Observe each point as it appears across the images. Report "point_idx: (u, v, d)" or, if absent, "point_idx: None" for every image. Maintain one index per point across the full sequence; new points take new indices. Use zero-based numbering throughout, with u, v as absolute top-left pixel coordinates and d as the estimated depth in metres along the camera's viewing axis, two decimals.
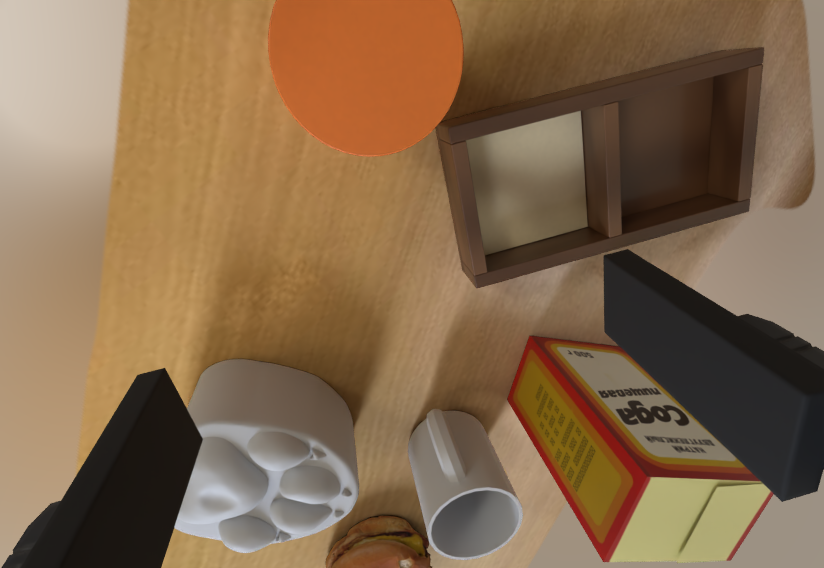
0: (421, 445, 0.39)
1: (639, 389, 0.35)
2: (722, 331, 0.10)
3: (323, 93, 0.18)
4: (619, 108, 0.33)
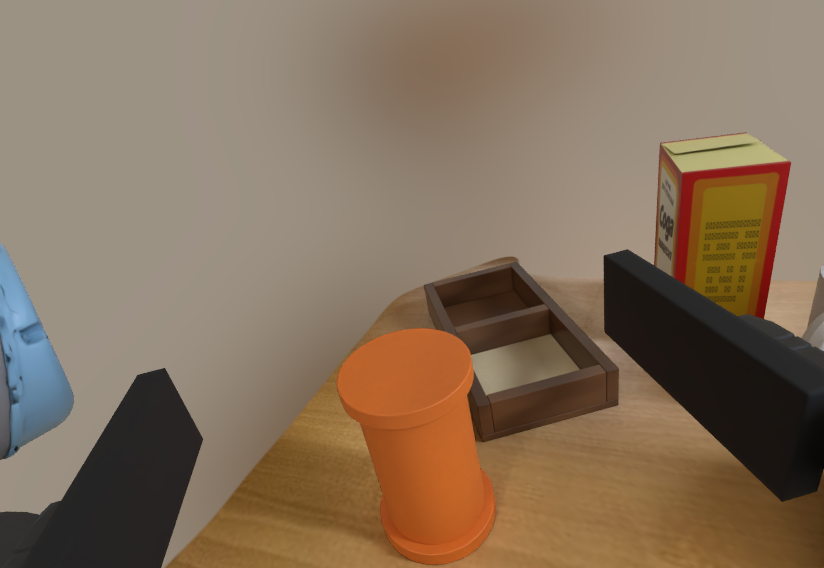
0: None
1: (662, 248, 0.43)
2: (722, 331, 0.10)
3: (426, 385, 0.24)
4: None
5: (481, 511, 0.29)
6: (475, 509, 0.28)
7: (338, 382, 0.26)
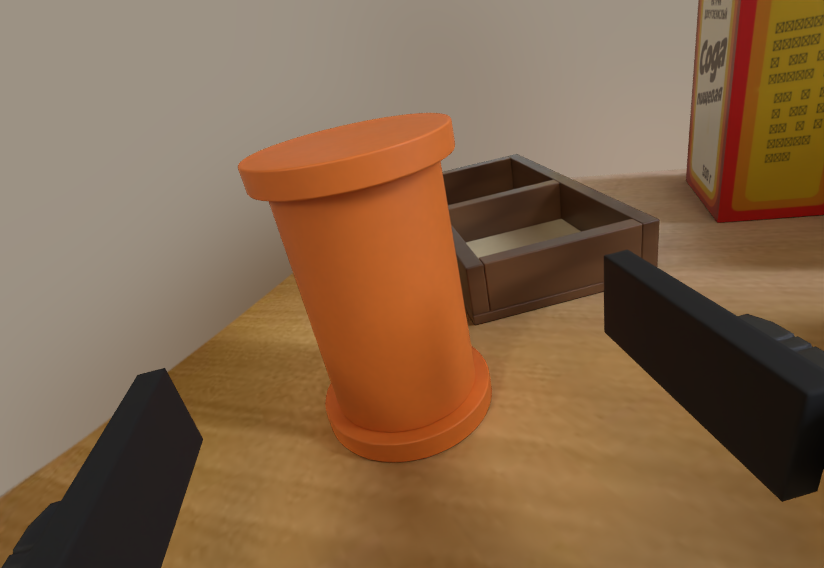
0: None
1: (703, 101, 0.34)
2: (722, 331, 0.10)
3: (375, 140, 0.15)
4: None
5: (470, 389, 0.20)
6: (460, 381, 0.19)
7: (242, 161, 0.16)
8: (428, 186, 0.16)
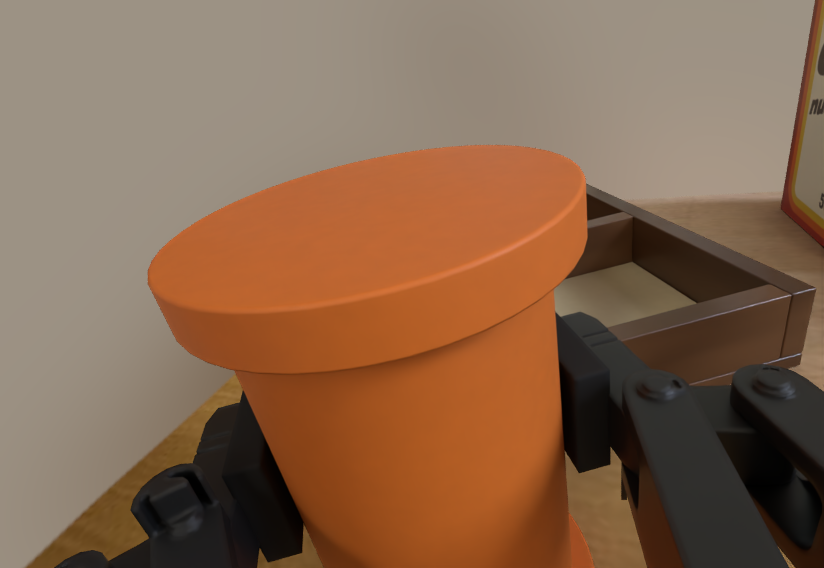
0: None
1: None
2: None
3: (437, 224, 0.07)
4: None
5: None
6: None
7: (165, 247, 0.08)
8: (540, 308, 0.08)
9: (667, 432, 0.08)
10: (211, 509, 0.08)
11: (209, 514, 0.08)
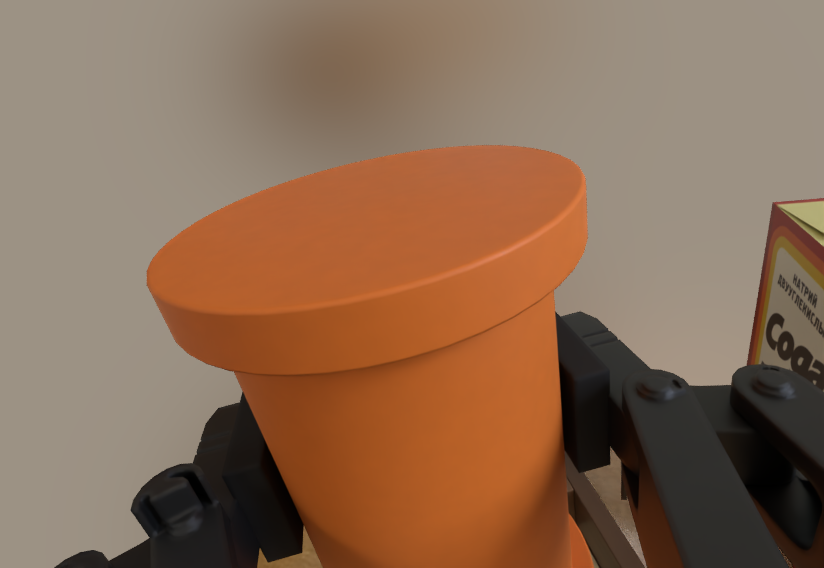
0: None
1: None
2: None
3: (437, 224, 0.07)
4: None
5: None
6: None
7: (164, 247, 0.08)
8: (540, 309, 0.08)
9: (667, 432, 0.08)
10: (211, 509, 0.08)
11: (209, 514, 0.08)
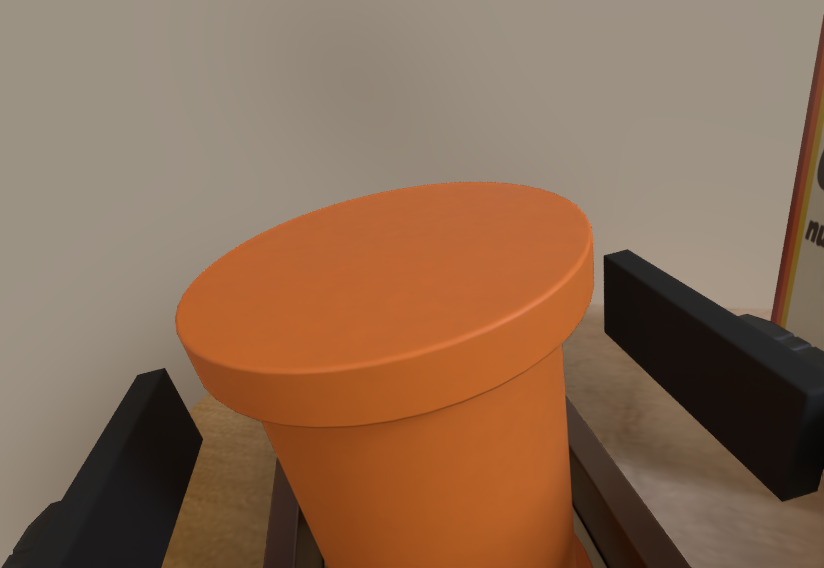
0: None
1: None
2: (722, 331, 0.10)
3: (452, 277, 0.07)
4: None
5: None
6: None
7: (189, 290, 0.09)
8: None
9: None
10: None
11: None
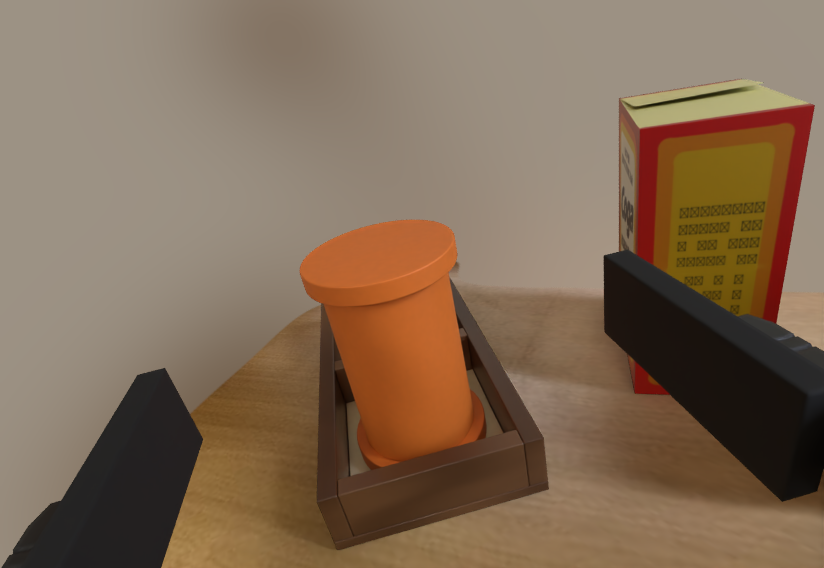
0: None
1: (624, 248, 0.30)
2: (722, 331, 0.10)
3: (400, 260, 0.21)
4: None
5: (469, 428, 0.26)
6: (462, 423, 0.25)
7: (301, 266, 0.22)
8: (438, 288, 0.22)
9: None
10: None
11: None
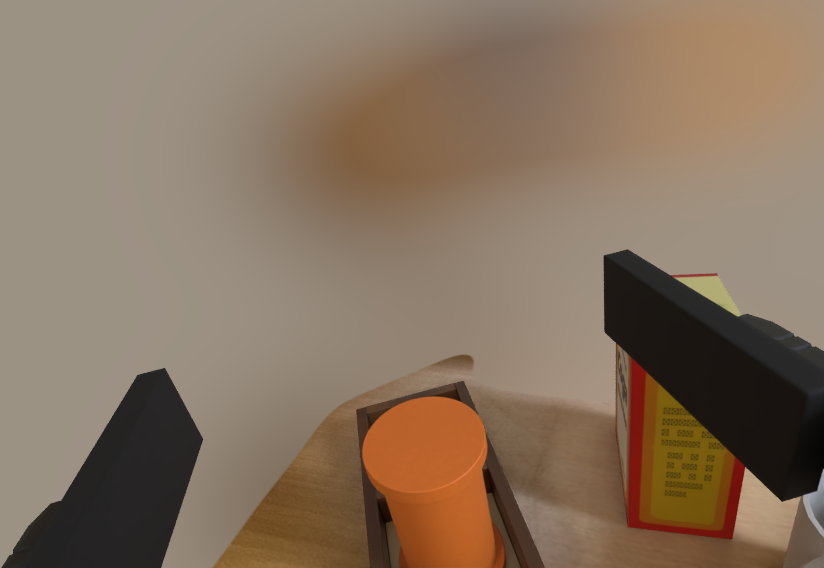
0: None
1: (620, 399, 0.36)
2: (722, 331, 0.10)
3: (445, 461, 0.27)
4: None
5: (493, 565, 0.32)
6: (488, 565, 0.31)
7: (363, 454, 0.28)
8: None
9: None
10: None
11: None
